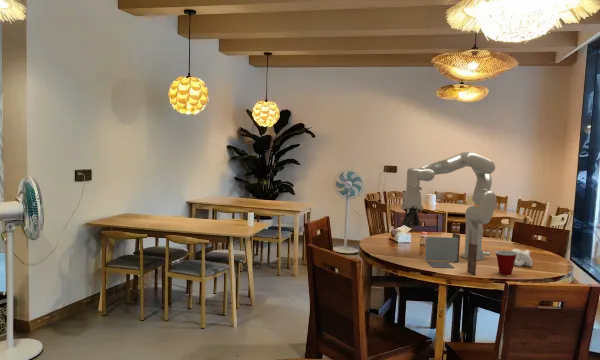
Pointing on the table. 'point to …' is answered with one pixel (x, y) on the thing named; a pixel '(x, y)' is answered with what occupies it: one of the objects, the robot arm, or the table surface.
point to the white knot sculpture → (522, 258)
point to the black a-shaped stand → (411, 218)
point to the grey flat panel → (441, 248)
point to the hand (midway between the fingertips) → (411, 219)
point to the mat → (440, 265)
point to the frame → (471, 255)
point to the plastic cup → (506, 261)
